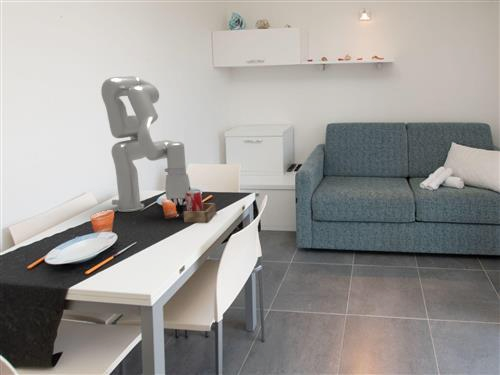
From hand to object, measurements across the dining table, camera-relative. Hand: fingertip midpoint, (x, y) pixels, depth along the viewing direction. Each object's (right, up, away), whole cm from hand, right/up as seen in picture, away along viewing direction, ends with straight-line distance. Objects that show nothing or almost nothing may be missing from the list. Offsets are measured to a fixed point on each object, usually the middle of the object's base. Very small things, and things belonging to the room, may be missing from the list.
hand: (180, 213), depth 218 cm
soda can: (+7, -2, -3) cm, 8 cm away
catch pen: (+9, -2, -2) cm, 9 cm away
